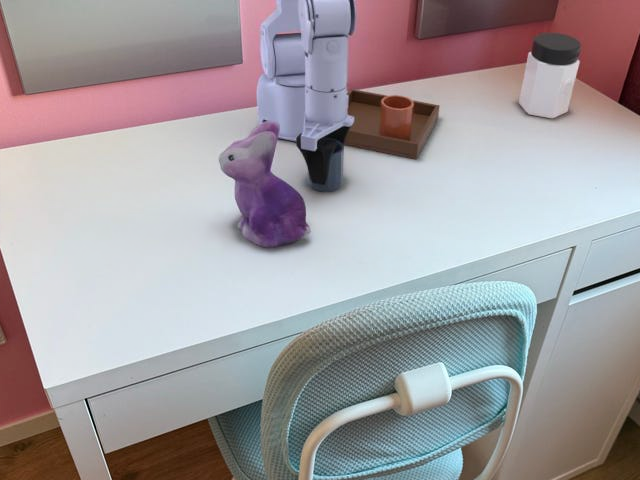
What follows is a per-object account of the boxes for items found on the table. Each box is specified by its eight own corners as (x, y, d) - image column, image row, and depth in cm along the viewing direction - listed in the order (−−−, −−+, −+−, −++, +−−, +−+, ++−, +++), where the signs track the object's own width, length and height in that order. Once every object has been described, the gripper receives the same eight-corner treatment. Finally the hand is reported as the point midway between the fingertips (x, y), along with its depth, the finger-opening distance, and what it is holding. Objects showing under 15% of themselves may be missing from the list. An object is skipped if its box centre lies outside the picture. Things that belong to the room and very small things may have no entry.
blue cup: (302, 187, 108) (302, 150, 104) (315, 171, 111) (315, 134, 107) (336, 194, 107) (336, 157, 103) (347, 177, 111) (348, 141, 106)
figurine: (222, 218, 101) (211, 115, 90) (293, 207, 104) (291, 106, 93) (239, 257, 94) (229, 151, 84) (314, 244, 98) (313, 140, 87)
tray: (321, 140, 119) (321, 125, 117) (349, 102, 129) (350, 88, 128) (416, 159, 116) (418, 144, 114) (438, 119, 127) (439, 105, 125)
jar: (546, 123, 129) (561, 54, 120) (510, 106, 132) (523, 39, 124) (575, 109, 133) (592, 42, 125) (539, 94, 137) (553, 28, 129)
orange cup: (375, 141, 118) (377, 106, 114) (384, 127, 122) (386, 92, 118) (405, 147, 118) (409, 112, 113) (413, 133, 121) (417, 98, 117)
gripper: (336, 110, 93) (335, 203, 102) (369, 68, 103) (365, 156, 113) (285, 100, 94) (288, 192, 103) (322, 60, 104) (322, 147, 114)
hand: (325, 173), depth 108 cm, fingers closed on blue cup, 5 cm apart
